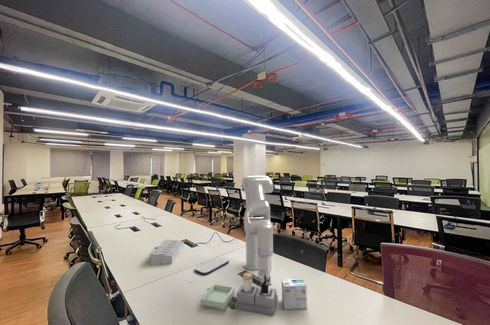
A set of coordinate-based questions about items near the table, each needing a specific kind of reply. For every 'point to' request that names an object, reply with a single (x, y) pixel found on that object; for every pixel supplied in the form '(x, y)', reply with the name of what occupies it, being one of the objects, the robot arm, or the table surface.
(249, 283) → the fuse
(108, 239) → the table surface
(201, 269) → the external hard drive
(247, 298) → the panel
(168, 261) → the warehouse
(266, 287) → the robot arm
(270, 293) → the fuse
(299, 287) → the light bulb box
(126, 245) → the table surface
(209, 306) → the parts tray
